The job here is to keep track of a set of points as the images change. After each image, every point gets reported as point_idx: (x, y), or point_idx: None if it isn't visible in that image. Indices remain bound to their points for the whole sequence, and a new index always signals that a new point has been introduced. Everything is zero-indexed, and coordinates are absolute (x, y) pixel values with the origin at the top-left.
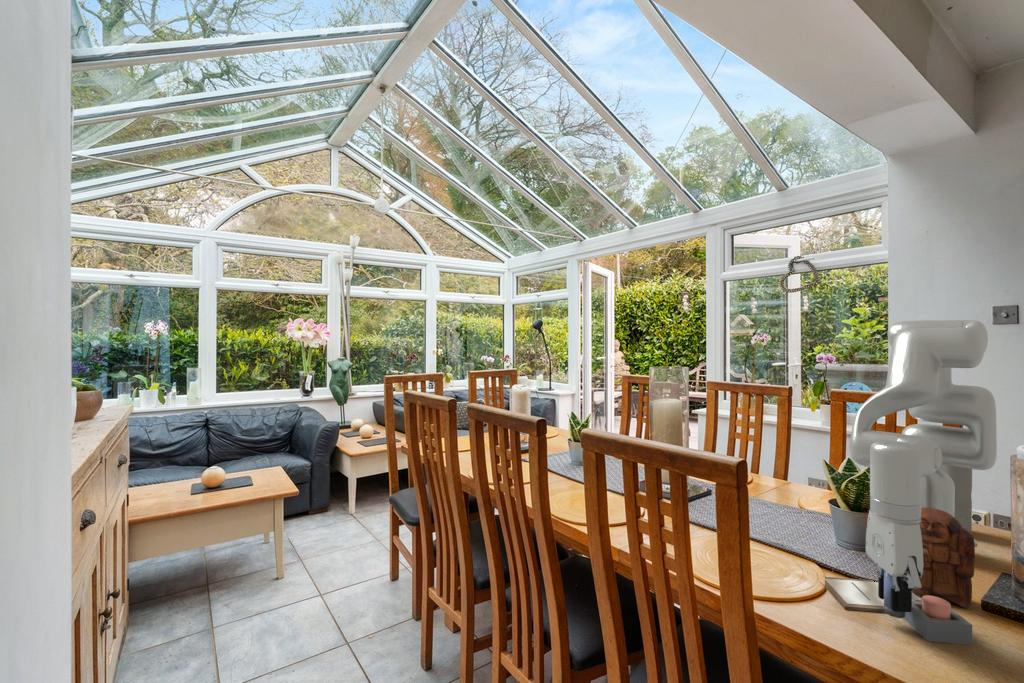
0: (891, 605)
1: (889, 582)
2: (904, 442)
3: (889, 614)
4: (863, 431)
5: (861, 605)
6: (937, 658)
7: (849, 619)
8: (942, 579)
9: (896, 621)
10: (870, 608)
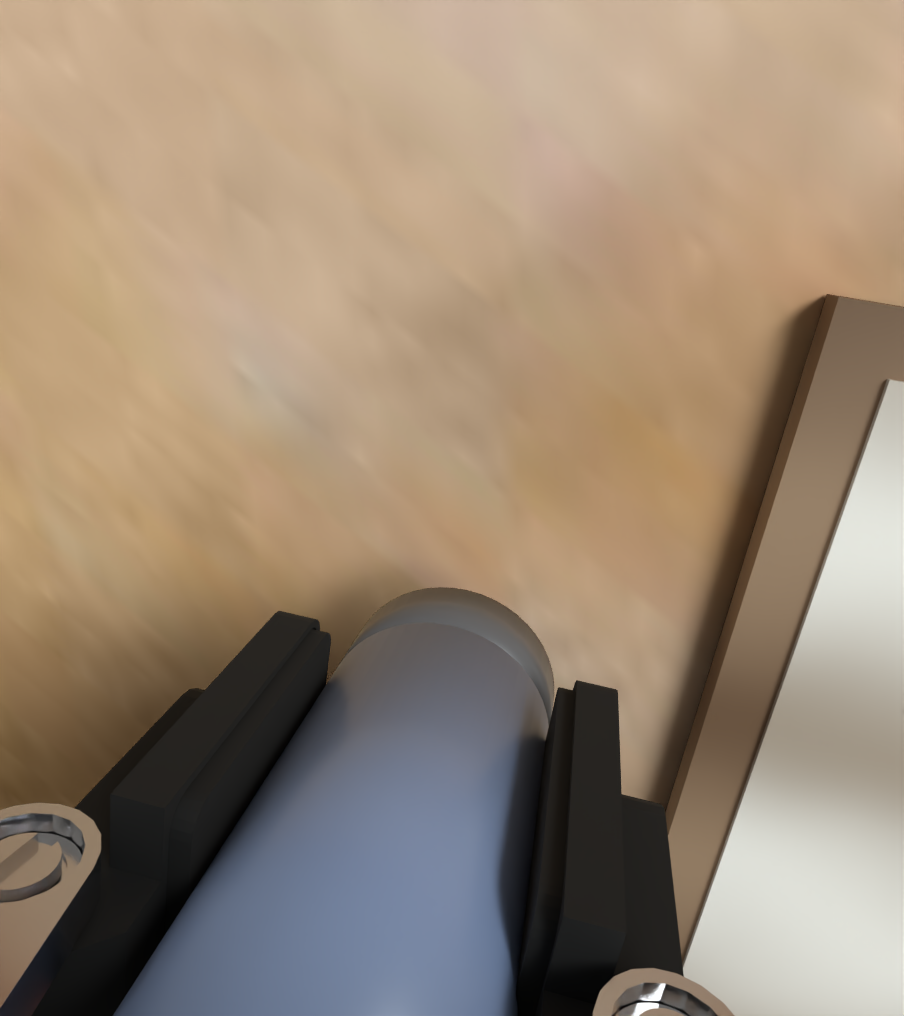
0: (274, 637)
1: (216, 921)
2: None
3: (402, 596)
4: None
5: (819, 527)
6: (18, 587)
7: (601, 198)
8: None
9: None
10: (744, 585)
